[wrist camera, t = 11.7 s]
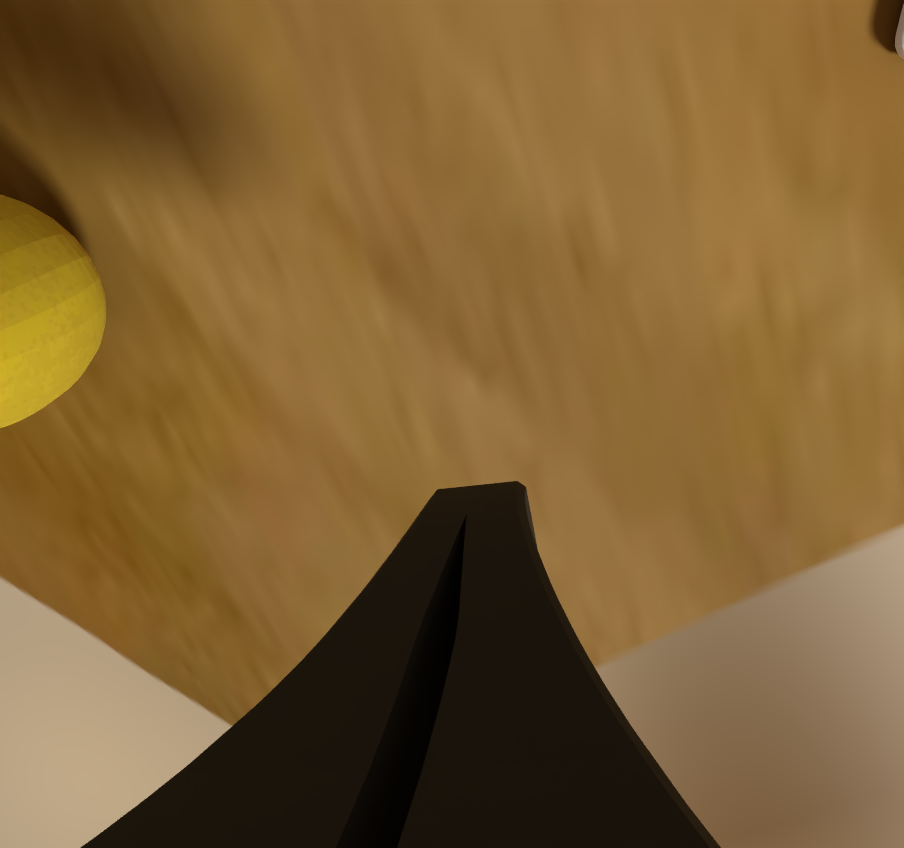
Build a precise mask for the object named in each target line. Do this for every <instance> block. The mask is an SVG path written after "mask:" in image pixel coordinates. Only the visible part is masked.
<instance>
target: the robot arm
mask: <svg viewBox="0 0 904 848" xmlns="http://www.w3.org/2000/svg"><path fill="white" fill-rule="evenodd" d="M895 48H896V51H897V53H898V55H899V56H900V57H901V58H903V59H904V4H903V8H902V12H901V16H900V20H899V24H898V28H897V32H896V36H895ZM81 848H721V847H720V846H719V845H718V844H717V842H716V841H715V840H714V838H713V837H712V836H711V835H710V833H709V832H708V831H707V829H706V828H705V827H704V826H703V824H702V823H701V822H700V820H699V819H698V818H697V817H696V815H695V814H694V813H693V811H692V810H691V809H690V808H689V806H688V805H687V804H686V802H685V801H684V800H683V798H682V797H681V795H680V794H679V793H678V791H677V790H676V788H675V787H674V786H673V784H672V783H671V781H670V780H669V779H668V777H667V776H666V774H665V773H664V772H663V770H662V769H661V767H660V766H659V764H658V763H657V762H656V760H655V759H654V757H653V756H652V755H651V753H650V752H649V750H648V749H647V748H646V746H645V745H644V744H643V742H642V741H641V739H640V738H639V736H638V735H637V734H636V732H635V731H634V729H633V728H632V726H631V725H630V724H629V722H628V720H627V719H626V717H625V716H624V714H623V713H622V711H621V709H620V708H619V707H618V705H617V703H616V702H615V700H614V699H613V697H612V696H611V694H610V692H609V691H608V689H607V688H606V686H605V684H604V683H603V681H602V679H601V678H600V676H599V674H598V673H597V671H596V669H595V667H594V666H593V664H592V662H591V661H590V659H589V657H588V656H587V654H586V652H585V650H584V648H583V647H582V645H581V643H580V641H579V639H578V637H577V636H576V634H575V632H574V630H573V628H572V626H571V624H570V622H569V620H568V618H567V616H566V614H565V612H564V610H563V608H562V606H561V604H560V602H559V600H558V598H557V596H556V593H555V591H554V589H553V587H552V585H551V583H550V580H549V578H548V575H547V573H546V570H545V568H544V565H543V563H542V560H541V558H540V555H539V553H538V550H537V544H536V539H535V533H534V528H533V523H532V517H531V512H530V506H529V501H528V496H527V490H526V487H525V486H524V485H522V484H521V483H519V482H518V481H513V482H504V483H494V484H484V485H475V486H465V487H456V488H446V489H438V490H437V491H436V492H435V493H434V494H433V496H432V497H431V498H430V500H429V501H428V502H427V504H426V505H425V507H424V508H423V509H422V511H421V512H420V514H419V515H418V516H417V518H416V519H415V521H414V522H413V524H412V525H411V526H410V528H409V529H408V531H407V532H406V533H405V535H404V536H403V538H402V539H401V540H400V542H399V543H398V544H397V546H396V547H395V549H394V550H393V551H392V553H391V554H390V555H389V557H388V558H387V559H386V561H385V562H384V563H383V564H382V566H381V567H380V568H379V570H378V571H377V572H376V574H375V575H374V576H373V578H372V579H371V580H370V582H369V583H368V584H367V585H366V587H365V588H364V589H363V591H362V592H361V593H360V594H359V596H358V597H357V598H356V599H355V600H354V601H353V603H352V604H351V605H350V606H349V607H348V609H347V610H346V611H345V612H344V613H343V614H342V616H341V617H340V618H339V619H338V620H337V622H336V623H335V624H334V625H333V626H332V627H331V629H330V630H329V631H328V632H327V633H326V635H325V636H324V637H323V638H322V639H321V640H320V641H319V642H318V644H317V645H316V646H315V647H314V648H313V649H312V650H311V651H310V652H309V653H308V654H307V656H306V657H305V658H304V659H303V660H302V661H301V662H300V663H299V664H298V665H297V666H296V667H295V668H294V669H293V670H292V671H291V672H290V673H289V674H288V675H287V676H286V677H285V678H284V679H283V680H282V681H281V682H280V683H279V684H278V685H277V686H276V687H275V688H274V689H273V690H272V691H271V692H270V693H269V694H268V695H267V696H266V697H264V698H263V699H262V700H261V701H260V702H259V703H258V704H257V705H256V706H255V707H254V708H253V709H251V710H250V711H249V712H248V713H247V714H246V715H245V716H244V717H242V718H241V719H240V720H239V721H238V722H237V723H236V724H234V725H233V726H232V727H231V728H230V729H229V730H228V731H227V732H225V733H224V734H223V735H222V736H221V737H220V738H218V739H217V740H216V741H215V742H214V743H213V744H212V745H211V746H209V747H208V748H207V749H206V750H205V751H204V752H203V753H201V754H200V755H199V756H198V757H197V758H196V759H195V760H193V761H192V762H191V763H190V764H189V765H187V766H186V767H185V768H184V769H183V770H181V771H180V772H179V773H178V774H176V775H175V776H174V777H173V778H172V779H170V780H169V781H168V782H166V783H165V784H164V785H163V786H161V787H160V788H159V789H158V790H157V791H155V792H154V793H153V794H152V795H150V796H149V797H148V798H146V799H145V800H144V801H142V802H141V803H140V804H139V805H138V806H136V807H135V808H133V809H132V810H131V811H129V812H128V813H127V814H125V815H124V816H123V817H121V818H120V819H119V820H117V821H116V822H115V823H113V824H112V825H111V826H110V827H108V828H107V829H106V830H104V831H103V832H101V833H100V834H99V835H97V836H96V837H95V838H94V839H92V840H91V841H89V842H88V843H86V844H85V845H84V846H82V847H81Z"/></svg>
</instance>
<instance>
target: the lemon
mask: <svg viewBox="0 0 904 848" xmlns="http://www.w3.org/2000/svg"><path fill="white" fill-rule="evenodd" d="M105 324H106V297H105V293H104V289H103V286H102V283H101V279H100V276H99V273H98V271H97V269H96V267H95V266H94V264H93V262H92V260H91V258H90V256H89V254H88V253H87V252H86V251H85V249H84V248H83V247H82V246H81V245H80V243H79V242H78V241H77V240H76V238H75V237H74V236H73V235H72V234H70V233H69V232H68V231H67V230H66V229H64V228H63V227H62V226H61V225H60V224H59V223H57V222H56V221H55V220H54V219H53V218H51V217H49V216H48V215H46V214H44V213H42V212H41V211H39V210H37V209H36V208H34V207H32V206H30V205H28V204H26V203H24V202H22V201H19V200H16V199H13V198H10V197H7V196H4V195H1V194H0V428H3V427H5V426H8V425H11V424H13V423H15V422H18V421H20V420H22V419H24V418H26V417H28V416H30V415H32V414H34V413H35V412H37V411H39V410H40V409H42V408H43V407H45V406H46V405H48V404H49V403H50V402H52V401H53V400H54V399H56V398H57V397H59V396H60V395H61V394H63V393H64V392H65V391H66V390H68V389H69V388H70V387H71V386H72V385H73V384H74V383H75V382H76V381H77V380H78V379H79V378H80V376H81V375H82V374H83V373H84V371H85V370H86V368H87V366H88V365H89V363H90V362H91V360H92V359H93V357H94V356H95V354H96V352H97V351H98V349H99V346H100V343H101V341H102V336H103V332H104V328H105Z"/></svg>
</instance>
